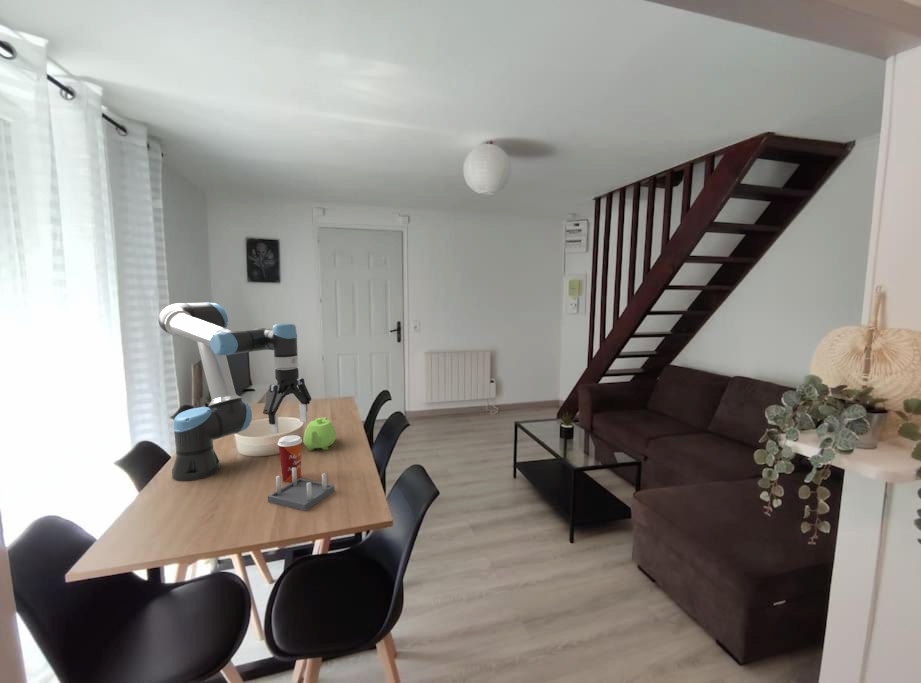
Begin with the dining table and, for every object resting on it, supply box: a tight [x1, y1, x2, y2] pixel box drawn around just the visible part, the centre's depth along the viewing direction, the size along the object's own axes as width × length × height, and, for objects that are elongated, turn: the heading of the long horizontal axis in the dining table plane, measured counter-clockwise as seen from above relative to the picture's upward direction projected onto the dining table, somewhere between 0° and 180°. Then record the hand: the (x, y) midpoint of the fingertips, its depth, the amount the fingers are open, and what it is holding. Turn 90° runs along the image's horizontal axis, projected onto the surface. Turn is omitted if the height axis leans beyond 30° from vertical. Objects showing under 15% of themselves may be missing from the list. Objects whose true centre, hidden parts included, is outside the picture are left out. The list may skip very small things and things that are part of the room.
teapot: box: [302, 416, 337, 451], centre depth 179 cm, size 20×13×13 cm
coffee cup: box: [277, 434, 303, 483], centre depth 148 cm, size 8×8×15 cm
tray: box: [267, 467, 336, 512], centre depth 135 cm, size 15×14×7 cm
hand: (289, 427), depth 146 cm, fingers open, 13 cm apart
